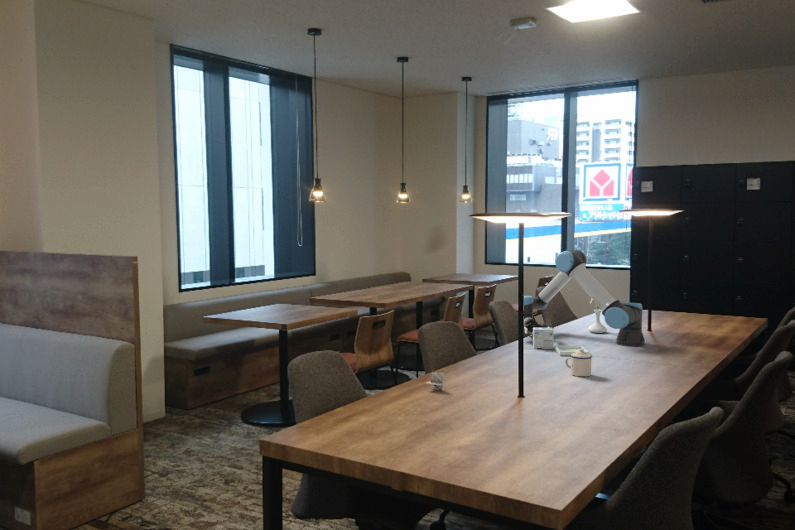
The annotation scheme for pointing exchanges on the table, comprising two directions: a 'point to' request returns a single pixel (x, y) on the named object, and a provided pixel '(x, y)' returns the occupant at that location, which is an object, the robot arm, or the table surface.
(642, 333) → the robot arm
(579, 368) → the teacup with lid
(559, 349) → the tray
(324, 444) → the table surface
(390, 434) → the table surface
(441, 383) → the architectural model
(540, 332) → the light bulb box
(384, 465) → the table surface
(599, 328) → the flower in vase
